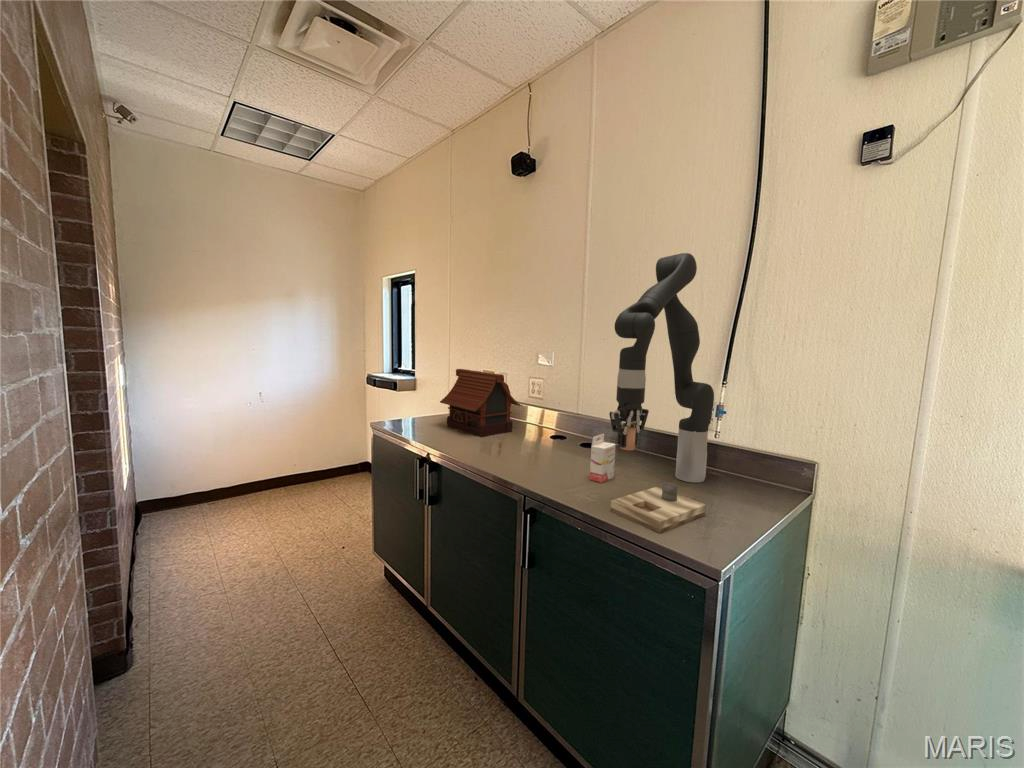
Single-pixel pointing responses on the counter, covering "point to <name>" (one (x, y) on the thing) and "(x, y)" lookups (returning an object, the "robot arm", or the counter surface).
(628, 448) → the terracotta pin
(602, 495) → the counter surface
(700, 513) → the pin board
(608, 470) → the ink cartridge box
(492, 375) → the house
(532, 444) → the counter surface
